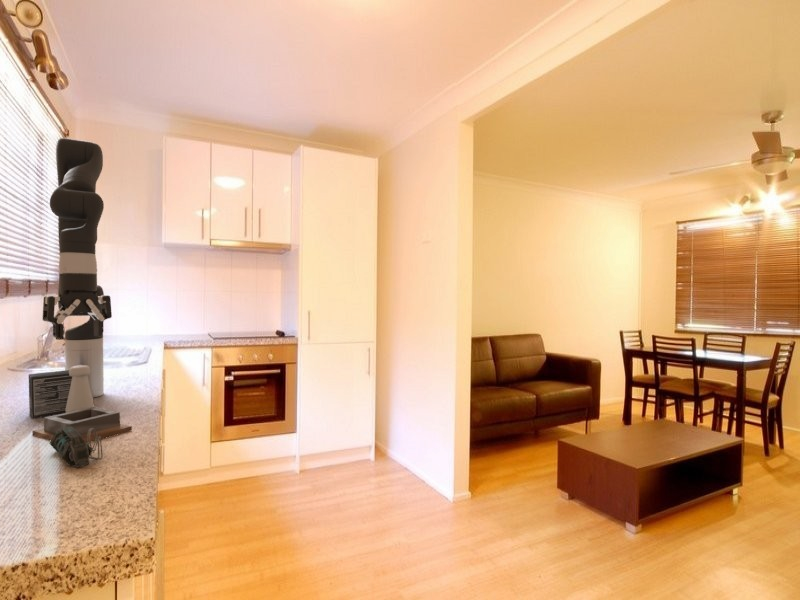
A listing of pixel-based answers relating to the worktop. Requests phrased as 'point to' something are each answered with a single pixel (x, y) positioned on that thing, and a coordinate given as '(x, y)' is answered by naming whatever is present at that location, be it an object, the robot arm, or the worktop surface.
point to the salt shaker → (79, 389)
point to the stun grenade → (75, 446)
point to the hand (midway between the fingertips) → (79, 337)
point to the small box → (48, 393)
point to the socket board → (84, 423)
